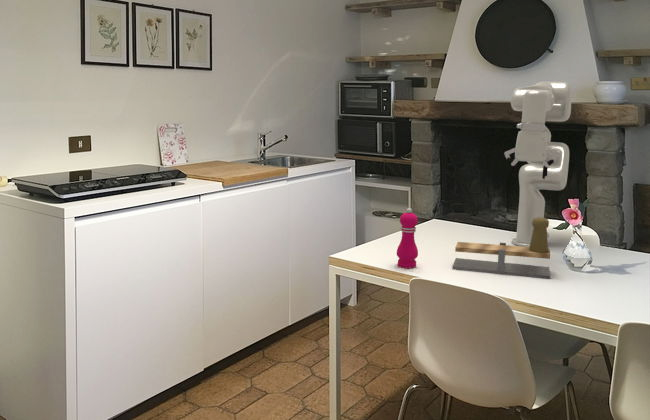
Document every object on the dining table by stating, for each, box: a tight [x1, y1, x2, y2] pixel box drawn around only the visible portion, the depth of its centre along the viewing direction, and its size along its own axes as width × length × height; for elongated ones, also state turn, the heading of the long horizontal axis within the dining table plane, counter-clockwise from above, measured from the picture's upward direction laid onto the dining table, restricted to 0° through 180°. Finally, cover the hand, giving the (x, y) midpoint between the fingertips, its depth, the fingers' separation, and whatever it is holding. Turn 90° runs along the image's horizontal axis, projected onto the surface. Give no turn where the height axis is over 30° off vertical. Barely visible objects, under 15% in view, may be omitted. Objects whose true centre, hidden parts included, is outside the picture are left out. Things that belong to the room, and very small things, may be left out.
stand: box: [451, 242, 551, 280], centre depth 207 cm, size 31×11×8 cm, turn 73°
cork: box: [529, 217, 550, 253], centre depth 202 cm, size 6×6×11 cm
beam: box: [454, 241, 551, 260], centre depth 206 cm, size 30×8×2 cm, turn 73°
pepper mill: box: [396, 207, 419, 269], centre depth 208 cm, size 7×7×20 cm
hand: (528, 177), depth 213 cm, fingers open, 9 cm apart
